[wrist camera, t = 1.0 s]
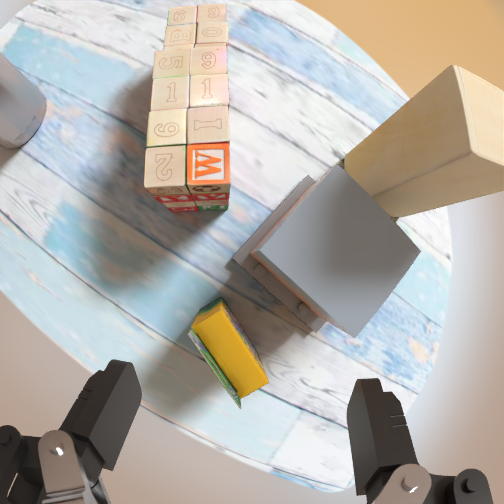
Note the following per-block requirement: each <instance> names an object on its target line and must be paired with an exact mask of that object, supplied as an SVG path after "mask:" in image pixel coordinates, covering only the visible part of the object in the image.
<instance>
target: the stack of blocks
mask: <svg viewBox="0 0 504 504" xmlns="http://www.w3.org/2000/svg"><path fill="white" fill-rule="evenodd" d="M227 46H228V23H227V21H226V4H211V5H198V6H184V7H174V8H169V13H168V19H167V27H166V31H165V39H164V47H163V51H159V52H155V58H154V67H153V76H152V79H153V84H152V95H151V107H150V108H151V110H150V112H149V115H148V129H147V144H146V145H147V149H146V152H145V170H144V187H145V189H146V190H148V191H149V192H150V193H151V194H153V195H154V198H155V199H156V200H157V201H159V202H160V203H162V204H164V205H165V206H166V207H167V208H168V209H169V210H170V211H171V212H183V211H199V210H227V209H228V206H229V195H230V184H231V177H230V148H229V147H230V134H229V85H228V74H227Z"/></svg>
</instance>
